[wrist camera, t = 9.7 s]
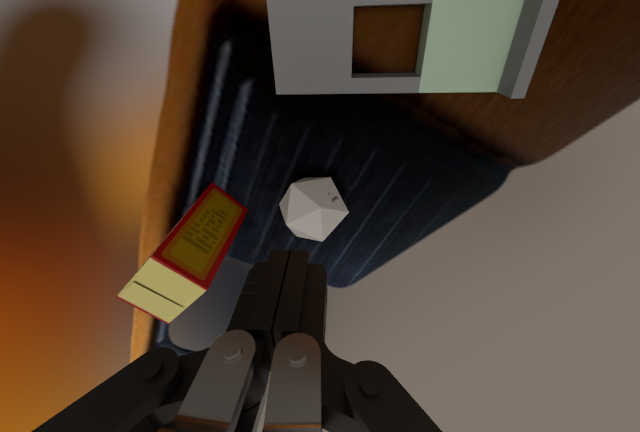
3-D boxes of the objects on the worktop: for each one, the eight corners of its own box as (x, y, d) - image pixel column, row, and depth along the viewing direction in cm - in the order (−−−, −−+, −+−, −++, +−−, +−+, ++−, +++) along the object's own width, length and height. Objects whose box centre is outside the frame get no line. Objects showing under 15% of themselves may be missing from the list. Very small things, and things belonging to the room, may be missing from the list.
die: (343, 218, 44) (367, 220, 34) (294, 246, 42) (305, 256, 33) (318, 170, 43) (336, 159, 33) (267, 197, 41) (270, 193, 32)
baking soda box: (212, 182, 41) (149, 258, 28) (248, 209, 44) (206, 292, 30) (181, 218, 45) (113, 299, 32) (215, 242, 48) (166, 326, 35)
